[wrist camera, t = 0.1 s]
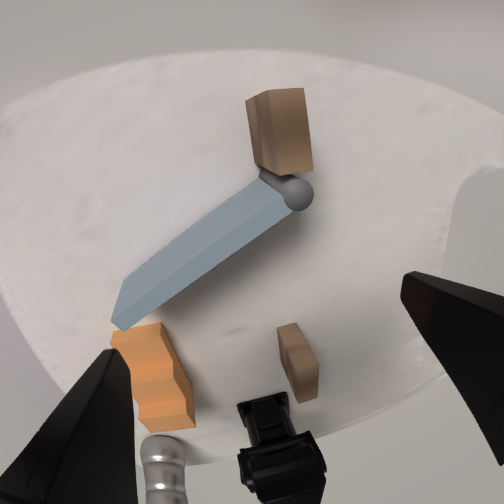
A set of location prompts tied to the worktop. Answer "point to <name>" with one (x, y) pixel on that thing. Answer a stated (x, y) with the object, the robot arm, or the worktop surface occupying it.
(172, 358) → the orange stepped block
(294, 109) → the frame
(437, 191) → the worktop surface
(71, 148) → the worktop surface
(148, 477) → the silver bottle
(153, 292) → the grey piece
